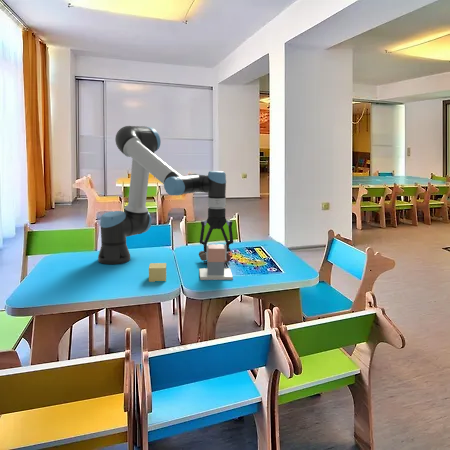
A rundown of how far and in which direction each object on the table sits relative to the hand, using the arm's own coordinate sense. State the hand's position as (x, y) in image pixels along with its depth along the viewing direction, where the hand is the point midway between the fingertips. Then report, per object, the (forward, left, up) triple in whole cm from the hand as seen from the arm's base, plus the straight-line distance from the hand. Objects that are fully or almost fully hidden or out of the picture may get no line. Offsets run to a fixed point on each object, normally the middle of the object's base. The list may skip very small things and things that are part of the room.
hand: (216, 259), depth 178 cm
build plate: (0, 0, -8) cm, 8 cm away
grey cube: (0, 0, -6) cm, 6 cm away
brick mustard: (-25, -4, -8) cm, 27 cm away
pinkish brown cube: (0, 0, 0) cm, 0 cm away
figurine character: (+1, +19, -8) cm, 21 cm away
